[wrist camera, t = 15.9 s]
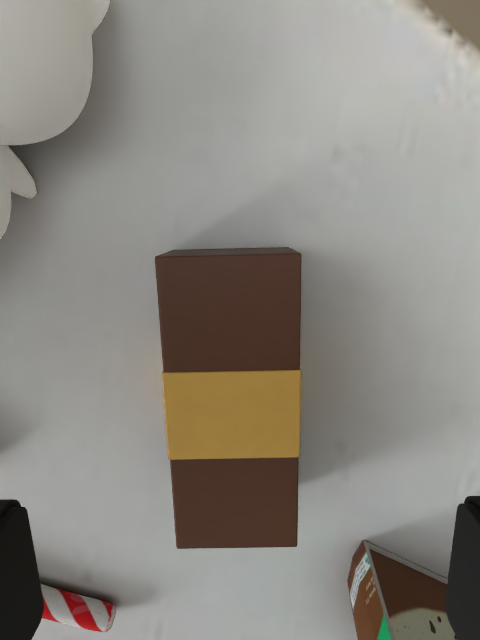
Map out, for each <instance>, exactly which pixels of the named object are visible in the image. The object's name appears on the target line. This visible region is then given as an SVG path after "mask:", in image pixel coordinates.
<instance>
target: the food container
mask: <svg viewBox="0 0 480 640" xmlns="http://www.w3.org/2000/svg"><path fill="white" fill-rule="evenodd" d="M447 583H448V579H446V578H444V577H442V576H440V575H438V574H435V573H433V572H431V571H429V570H427V569H425V568H422V567H420V566H418V565H416V564H414V563H412V562H410V561H407V560H405V559H403V558H401V557H399V556H397V555H394V554H392V553H390V552H388V551H386V550H384V549H381V548H379V547H377V546H375V545H373V544H371V543H369V542H366V541H364V540H363V541H362V543H361V544H360V546H359V548H358V549H357V551H356V553H355V554H354V556H353V559H352V563H351V568H350V572H349V576H348V587H349V594H350V600H351V606H352V611H353V616H354V621H355V627H356V632H357V637H358V640H458V639H457V637H456V635H455V633H454V631H453V629H452V627H451V625H450V623H449V621H448V618H447V614H446V609H445V598H446V591H447Z"/></svg>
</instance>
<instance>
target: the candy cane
mask: <svg viewBox="0 0 480 640" xmlns="http://www.w3.org/2000/svg"><path fill="white" fill-rule="evenodd" d="M41 590H42V595H43V600H44V611H43V615H42V618H44V619H48V620H52V621H55V622H59V623H63V624H67V625H71V626H75V627H79V628H83V629H88V630H93V631H100V632H106V631H108V630H109V629H110V628H111V626H112V624H113V621H114V618H115V614H116V608H115V606H114V605H113V604H110V603H108V602H105V601H101V600H98V599H94V598H90V597H86V596H82V595H78V594H74V593H71V592H67V591H63V590H60V589H56V588H53V587H49V586H46V585H43V584H41Z"/></svg>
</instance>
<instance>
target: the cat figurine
mask: <svg viewBox="0 0 480 640" xmlns="http://www.w3.org/2000/svg"><path fill="white" fill-rule="evenodd" d="M109 4H110V0H0V239H1V238H2V236H3V235H4V233H5V232H6V229H7V226H8V223H9V220H10V213H11V192H14V193H16V194H18V195H20V196H23V197H27V198H30V199H32V198H33V197H34V196H35V195H36V194H37V192H36V187H35V182H34V180H33V178H32V176H31V175H30V173H29V172H28V170H27V169H26V168H25V166H24V165H23V163H22V162H21V160H20V159H19V158H18V157H17V156H16V155H15V153H14V152H13V151H12V150H11V149H10V148H9V146H8V145H25V144H32V143H37V142H41V141H45V140H48V139H50V138H52V137H55V136H57V135H59V134H60V133H62V132H63V131H65V130H66V129H67V128H68V127H70V126H71V125H72V124H73V123H74V122H75V120H76V119H77V118H78V117H79V115H80V113H81V112H82V110H83V108H84V106H85V104H86V101H87V99H88V95H89V92H90V87H91V82H92V73H93V49H92V34H93V33H94V31H95V30H96V28H97V27H98V26H99V24H100V23H101V22H102V20H103V19H104V18H105V15H106V13H107V11H108V8H109Z"/></svg>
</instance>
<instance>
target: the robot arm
mask: <svg viewBox="0 0 480 640" xmlns="http://www.w3.org/2000/svg"><path fill="white" fill-rule="evenodd" d="M445 609H446V614H447V618H448V621H449V623H450V625H451V627H452V629H453V631H454V633H455V635H456V637H457V639H458V640H480V496H469V497H467V498H466V499H465V502H464V504H459V506H458V508H457V514H456V522H455V530H454V537H453V545H452V553H451V560H450V568H449V575H448V583H447V591H446V598H445ZM43 611H44V600H43V595H42V590H41V584H40V579H39V573H38V568H37V562H36V557H35V551H34V546H33V540H32V535H31V529H30V524H29V519H28V513H27V510H26V508H25V507H21V505H20V503H19V502H18V500H0V640H31V639H32V637H33V636H34V634H35V632H36V630H37V628H38V626H39V624H40V621H41V619H42V615H43Z"/></svg>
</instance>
